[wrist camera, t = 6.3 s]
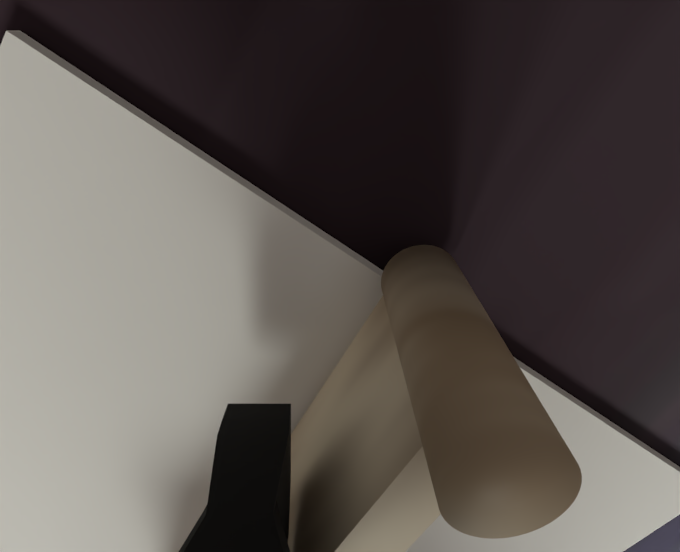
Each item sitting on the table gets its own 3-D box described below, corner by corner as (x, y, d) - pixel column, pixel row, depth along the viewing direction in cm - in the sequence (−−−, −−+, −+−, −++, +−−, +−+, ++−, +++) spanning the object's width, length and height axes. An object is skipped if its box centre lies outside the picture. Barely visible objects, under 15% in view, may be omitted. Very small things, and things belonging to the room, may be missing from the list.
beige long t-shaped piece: (237, 588, 14) (203, 840, 10) (186, 575, 14) (126, 832, 9) (474, 265, 10) (613, 469, 5) (407, 230, 9) (495, 420, 5)
